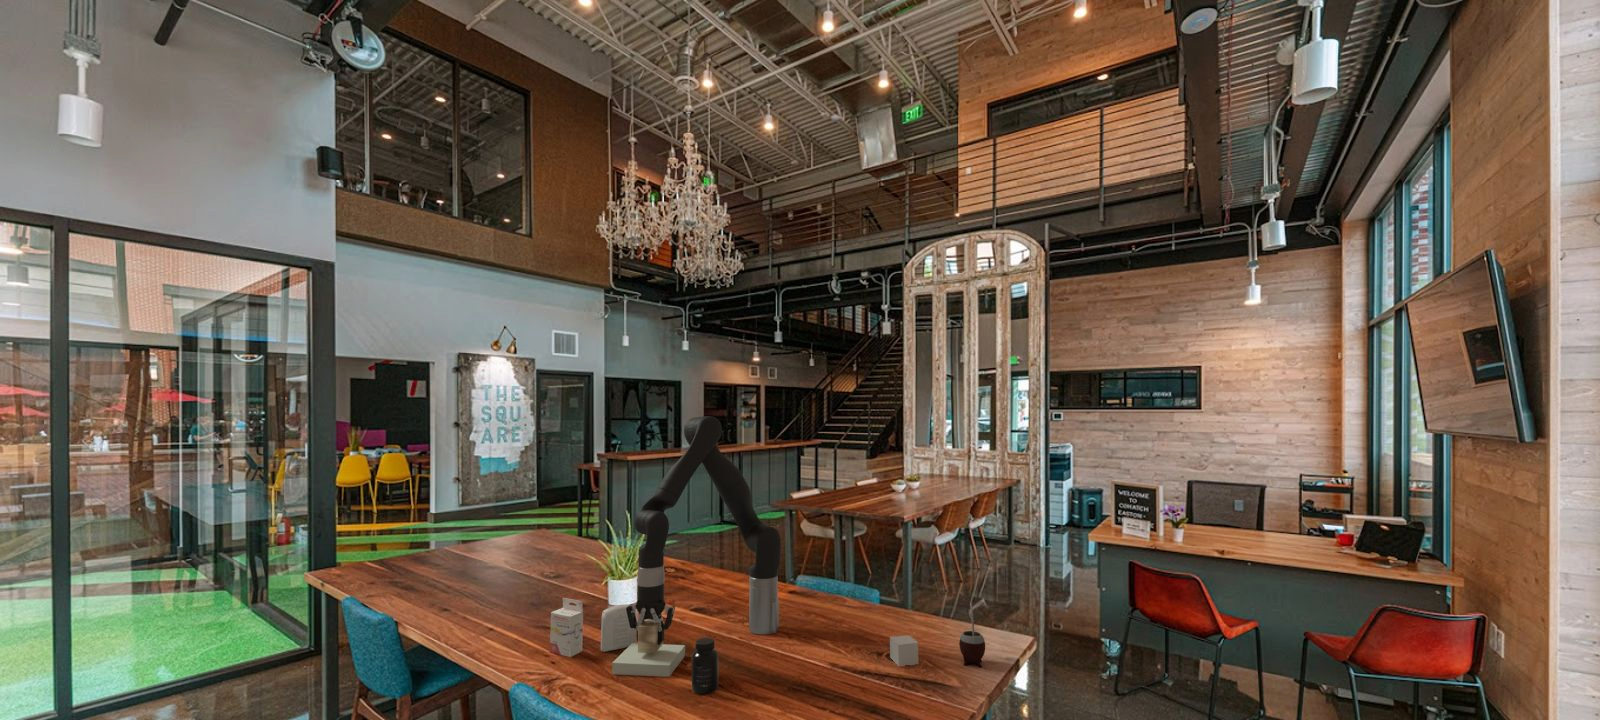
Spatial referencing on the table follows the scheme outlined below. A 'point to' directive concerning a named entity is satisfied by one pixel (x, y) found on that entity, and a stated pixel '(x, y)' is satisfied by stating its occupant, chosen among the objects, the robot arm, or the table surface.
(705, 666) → the supplement bottle
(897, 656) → the grey cube
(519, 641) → the table surface
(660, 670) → the base plate
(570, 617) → the ink cartridge box
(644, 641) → the birch block
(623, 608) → the photo printer
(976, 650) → the mate gourd
